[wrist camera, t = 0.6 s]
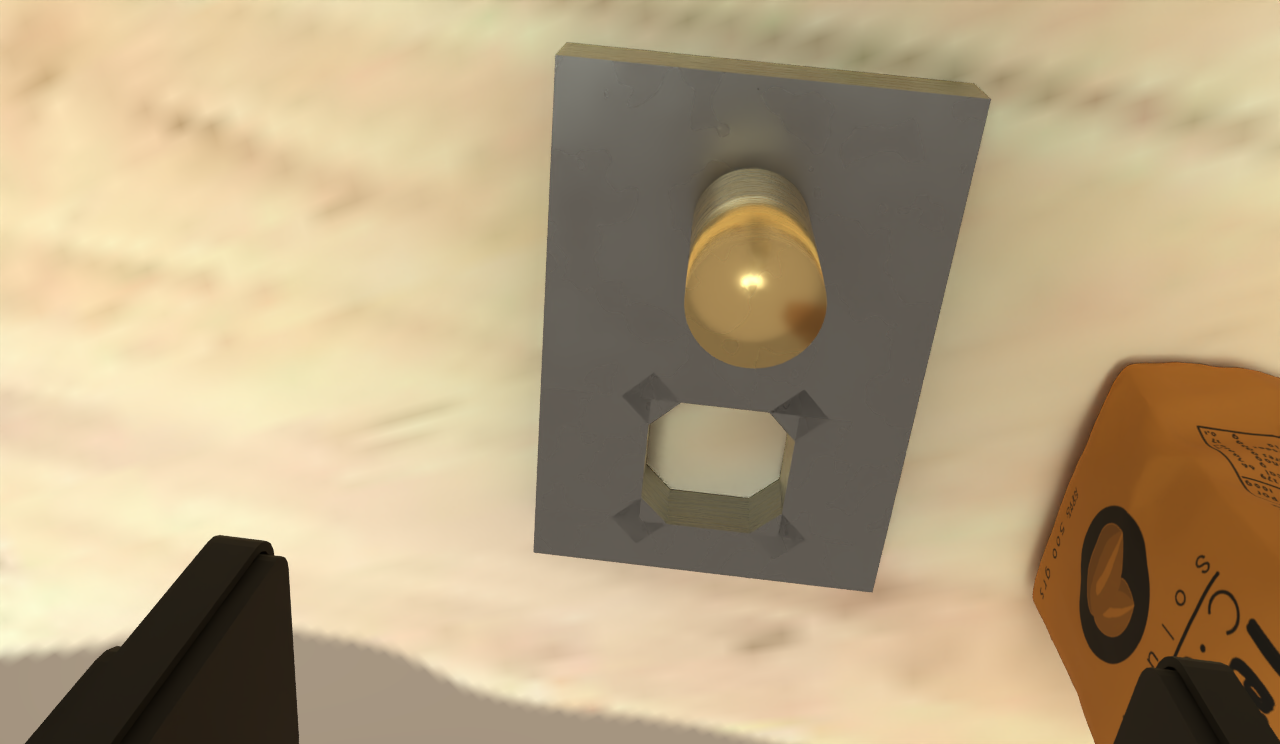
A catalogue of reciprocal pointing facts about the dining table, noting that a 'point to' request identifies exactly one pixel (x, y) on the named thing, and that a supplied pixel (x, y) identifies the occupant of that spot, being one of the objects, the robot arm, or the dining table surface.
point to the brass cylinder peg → (753, 271)
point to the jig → (655, 289)
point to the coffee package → (1170, 538)
